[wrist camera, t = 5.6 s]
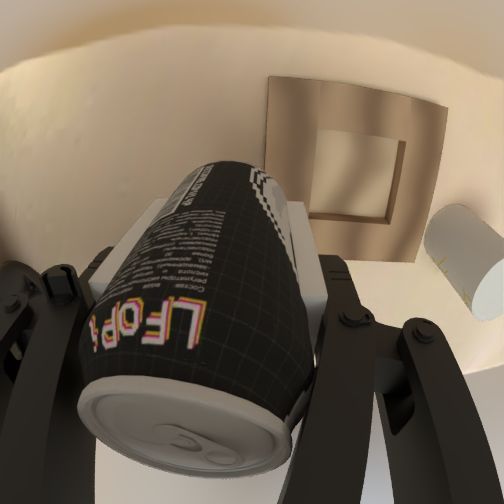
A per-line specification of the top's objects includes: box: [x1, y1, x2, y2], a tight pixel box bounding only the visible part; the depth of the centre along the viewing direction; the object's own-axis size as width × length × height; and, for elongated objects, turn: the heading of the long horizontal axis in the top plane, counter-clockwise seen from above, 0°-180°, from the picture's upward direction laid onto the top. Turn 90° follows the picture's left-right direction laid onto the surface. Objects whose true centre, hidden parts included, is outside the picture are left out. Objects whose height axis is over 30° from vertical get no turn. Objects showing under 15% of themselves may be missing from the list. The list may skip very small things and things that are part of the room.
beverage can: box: [77, 160, 316, 479], centre depth 10 cm, size 6×6×12 cm
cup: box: [424, 204, 504, 321], centre depth 27 cm, size 8×8×12 cm
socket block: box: [264, 76, 448, 263], centre depth 29 cm, size 18×18×2 cm
